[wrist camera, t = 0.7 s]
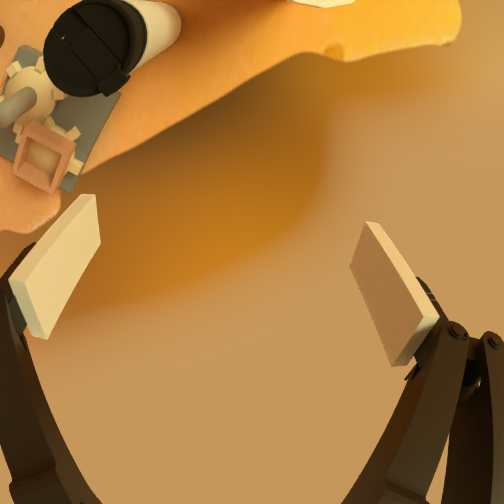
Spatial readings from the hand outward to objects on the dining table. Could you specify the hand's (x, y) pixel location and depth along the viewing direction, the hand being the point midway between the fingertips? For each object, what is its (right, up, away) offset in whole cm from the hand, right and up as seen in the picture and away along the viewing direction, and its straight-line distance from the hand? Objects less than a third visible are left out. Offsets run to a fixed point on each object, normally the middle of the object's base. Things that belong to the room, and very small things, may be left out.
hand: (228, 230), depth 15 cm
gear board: (-26, +16, +17) cm, 35 cm away
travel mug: (-9, +24, +12) cm, 28 cm away
